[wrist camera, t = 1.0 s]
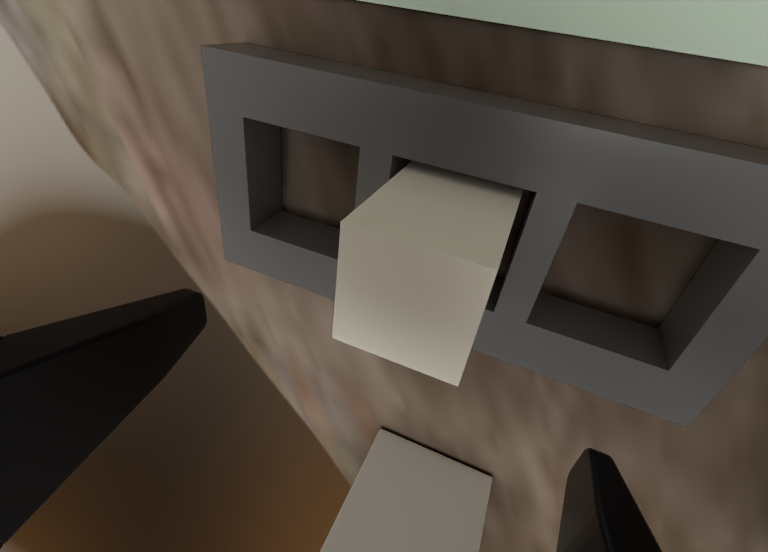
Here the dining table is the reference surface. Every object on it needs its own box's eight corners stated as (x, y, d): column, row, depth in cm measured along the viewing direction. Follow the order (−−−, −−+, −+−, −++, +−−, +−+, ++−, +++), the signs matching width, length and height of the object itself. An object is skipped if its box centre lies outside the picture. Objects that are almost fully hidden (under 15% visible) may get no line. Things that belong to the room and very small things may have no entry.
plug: (527, 177, 15) (498, 270, 9) (496, 268, 17) (458, 386, 12) (423, 151, 16) (340, 221, 10) (406, 241, 18) (332, 338, 13)
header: (844, 164, 11) (896, 193, 10) (674, 381, 16) (687, 427, 15) (244, 42, 16) (200, 45, 14) (256, 238, 21) (225, 259, 19)
